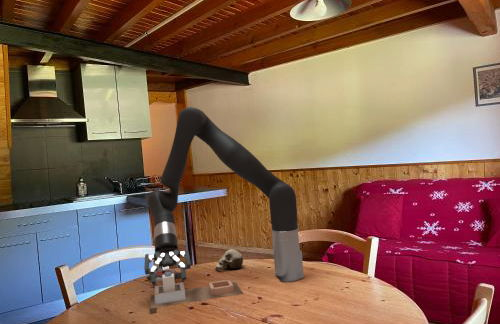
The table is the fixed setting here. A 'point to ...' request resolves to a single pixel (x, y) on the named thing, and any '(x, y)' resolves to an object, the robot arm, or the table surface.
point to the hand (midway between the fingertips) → (169, 282)
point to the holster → (221, 287)
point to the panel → (195, 296)
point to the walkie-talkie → (162, 272)
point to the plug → (168, 282)
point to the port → (169, 295)
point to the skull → (230, 261)
